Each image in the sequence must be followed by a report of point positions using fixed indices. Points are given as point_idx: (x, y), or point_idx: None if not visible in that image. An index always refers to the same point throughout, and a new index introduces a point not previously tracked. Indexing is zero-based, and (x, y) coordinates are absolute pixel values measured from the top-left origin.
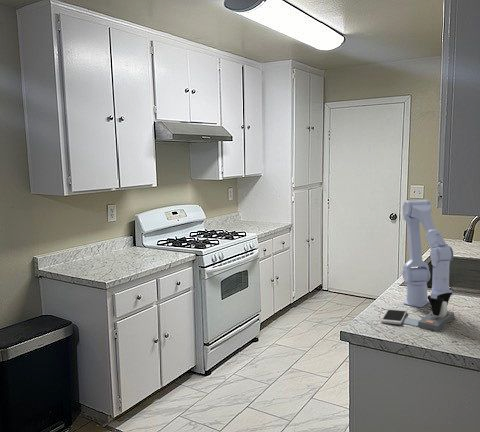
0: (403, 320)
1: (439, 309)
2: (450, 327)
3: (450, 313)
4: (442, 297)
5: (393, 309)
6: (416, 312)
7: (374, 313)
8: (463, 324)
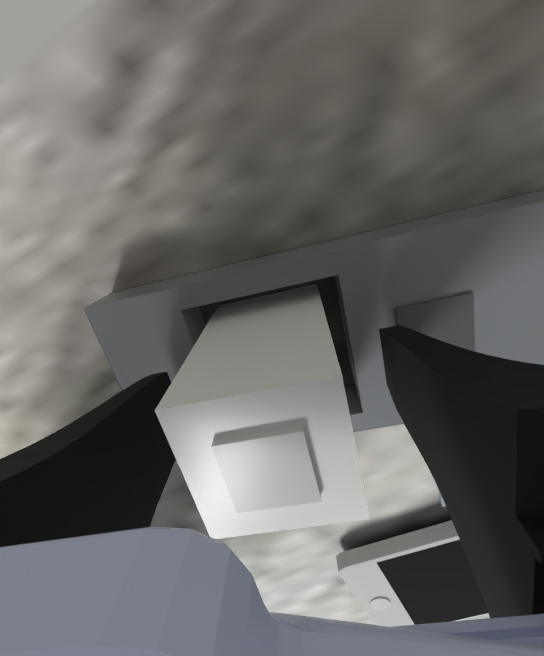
0: None
1: (455, 346)
2: (393, 156)
3: (146, 315)
4: (105, 531)
5: (393, 615)
6: None
7: None
8: (199, 115)
